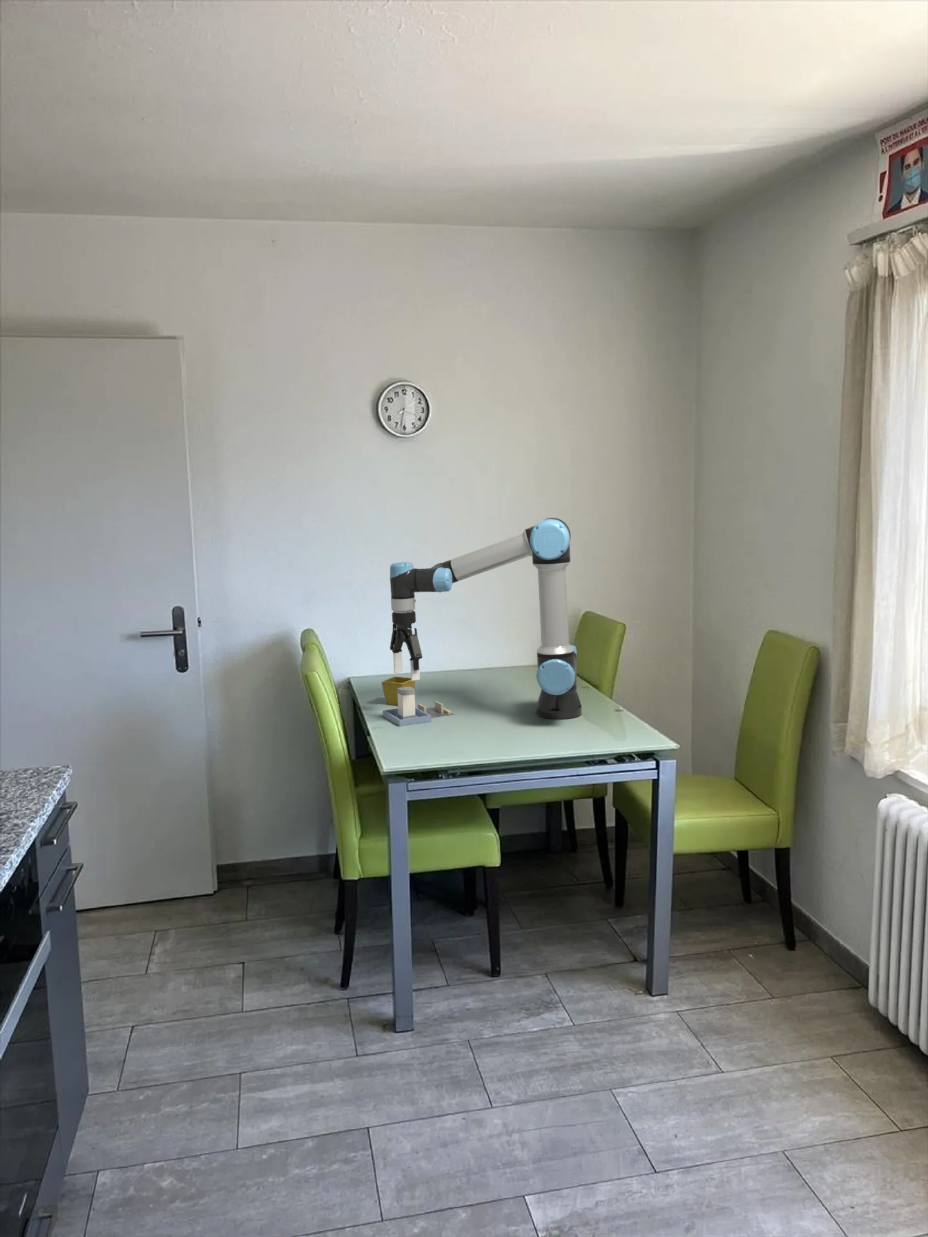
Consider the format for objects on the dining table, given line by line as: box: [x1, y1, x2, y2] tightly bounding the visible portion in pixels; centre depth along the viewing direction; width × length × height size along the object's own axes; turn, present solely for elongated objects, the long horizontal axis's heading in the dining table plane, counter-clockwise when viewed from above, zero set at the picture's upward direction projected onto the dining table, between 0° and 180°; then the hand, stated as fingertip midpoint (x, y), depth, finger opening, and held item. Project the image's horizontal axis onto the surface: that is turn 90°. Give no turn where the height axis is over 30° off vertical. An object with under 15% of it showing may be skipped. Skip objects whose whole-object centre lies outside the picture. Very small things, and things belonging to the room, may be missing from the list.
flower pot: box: [381, 676, 416, 707], centre depth 315 cm, size 9×9×9 cm
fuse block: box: [417, 700, 455, 719], centre depth 303 cm, size 12×10×4 cm
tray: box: [382, 706, 432, 727], centre depth 295 cm, size 14×11×2 cm
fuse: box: [397, 687, 416, 720], centre depth 295 cm, size 4×4×10 cm
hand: (406, 676), depth 293 cm, fingers open, 13 cm apart
